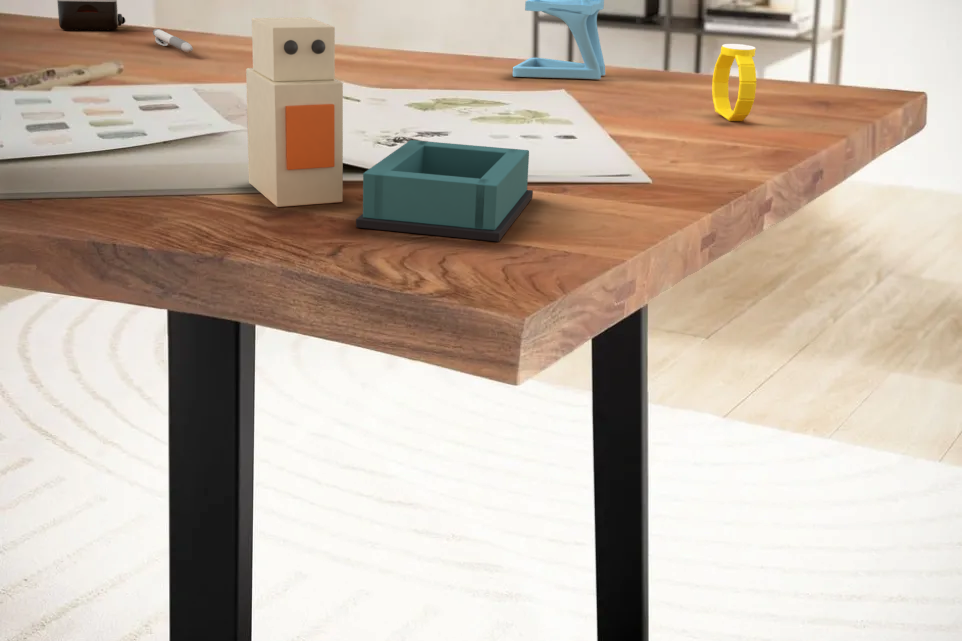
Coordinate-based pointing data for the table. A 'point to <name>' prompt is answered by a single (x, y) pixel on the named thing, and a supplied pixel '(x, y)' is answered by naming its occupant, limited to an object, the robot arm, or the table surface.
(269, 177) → the toy robot
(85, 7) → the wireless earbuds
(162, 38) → the pen
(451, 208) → the box
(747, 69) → the watch
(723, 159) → the table surface
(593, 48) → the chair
